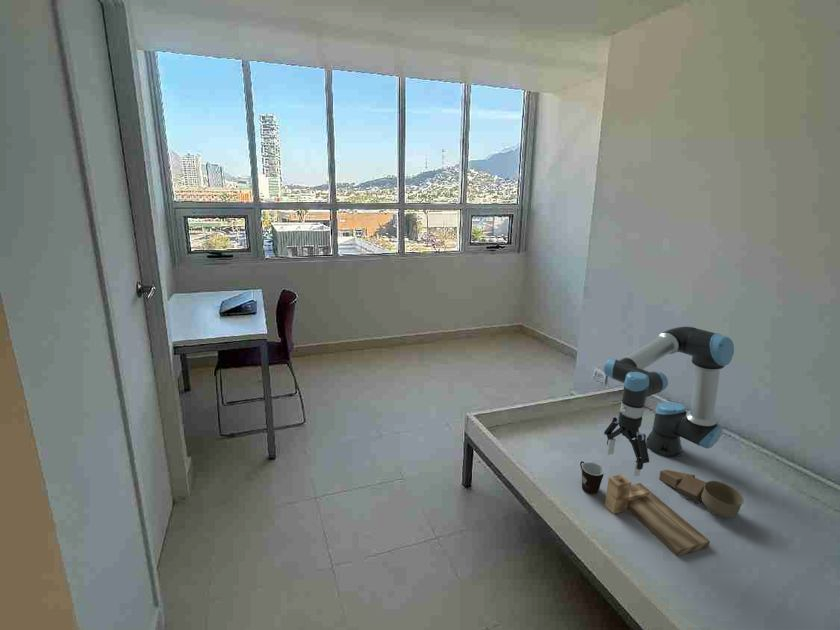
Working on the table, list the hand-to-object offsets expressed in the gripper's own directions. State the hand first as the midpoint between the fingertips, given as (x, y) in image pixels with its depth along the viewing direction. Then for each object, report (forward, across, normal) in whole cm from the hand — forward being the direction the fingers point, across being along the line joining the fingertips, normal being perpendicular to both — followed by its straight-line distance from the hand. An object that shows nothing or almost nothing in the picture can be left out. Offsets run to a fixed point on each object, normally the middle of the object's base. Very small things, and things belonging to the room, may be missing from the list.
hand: (622, 464), depth 163 cm
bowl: (+20, +14, +37) cm, 44 cm away
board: (+20, +9, +11) cm, 25 cm away
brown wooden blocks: (+20, -2, +37) cm, 42 cm away
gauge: (+20, 0, +6) cm, 21 cm away
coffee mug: (+20, -14, -1) cm, 24 cm away
